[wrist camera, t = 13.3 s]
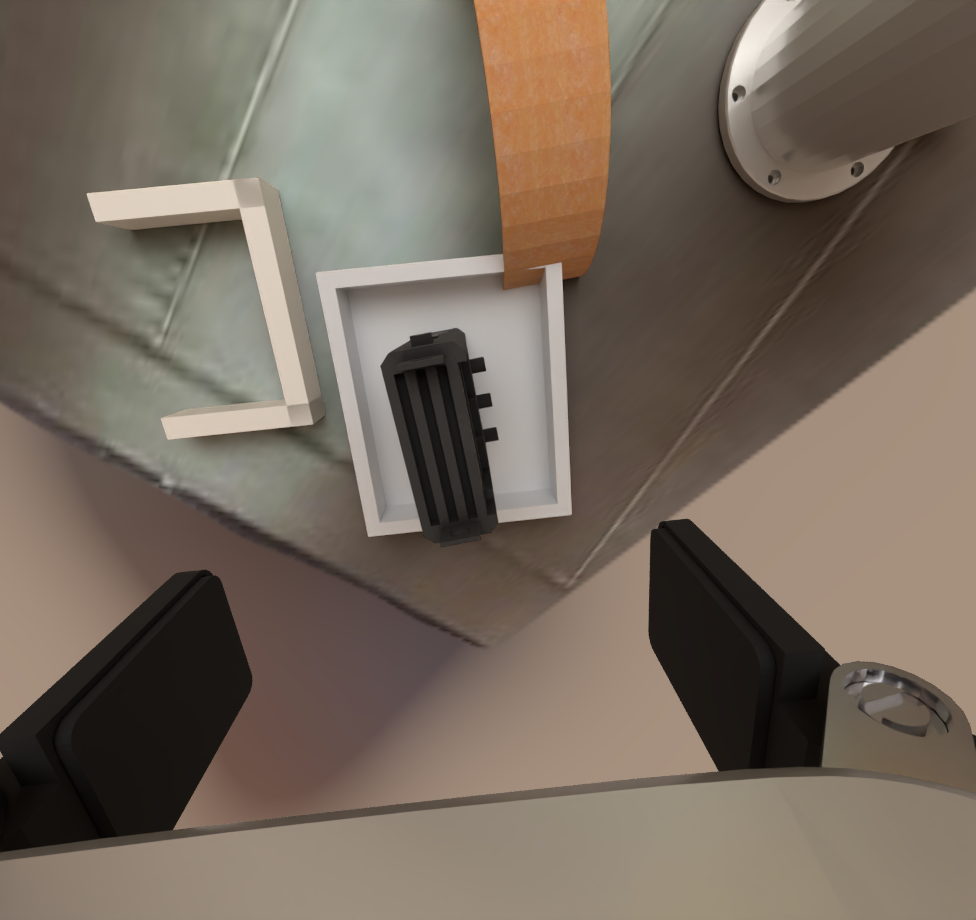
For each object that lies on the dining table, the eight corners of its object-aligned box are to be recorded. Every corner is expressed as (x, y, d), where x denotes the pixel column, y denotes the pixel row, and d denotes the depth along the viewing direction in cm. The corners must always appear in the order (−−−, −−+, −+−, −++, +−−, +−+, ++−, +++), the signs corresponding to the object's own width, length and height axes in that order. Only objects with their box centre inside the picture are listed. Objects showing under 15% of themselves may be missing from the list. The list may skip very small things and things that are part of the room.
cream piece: (278, 189, 30) (258, 177, 27) (325, 414, 35) (313, 424, 32) (122, 204, 30) (86, 193, 27) (192, 428, 34) (167, 439, 32)
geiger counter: (500, 457, 35) (525, 558, 21) (442, 468, 35) (427, 576, 21) (475, 317, 32) (483, 324, 18) (410, 329, 32) (368, 347, 18)
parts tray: (549, 255, 32) (560, 248, 28) (561, 493, 38) (571, 514, 34) (333, 276, 32) (315, 272, 28) (377, 513, 37) (368, 536, 33)
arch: (499, 291, 32) (512, 275, 23) (443, -67, 27) (429, -291, 17) (580, 277, 32) (628, 254, 23) (541, -86, 27) (582, -320, 17)
